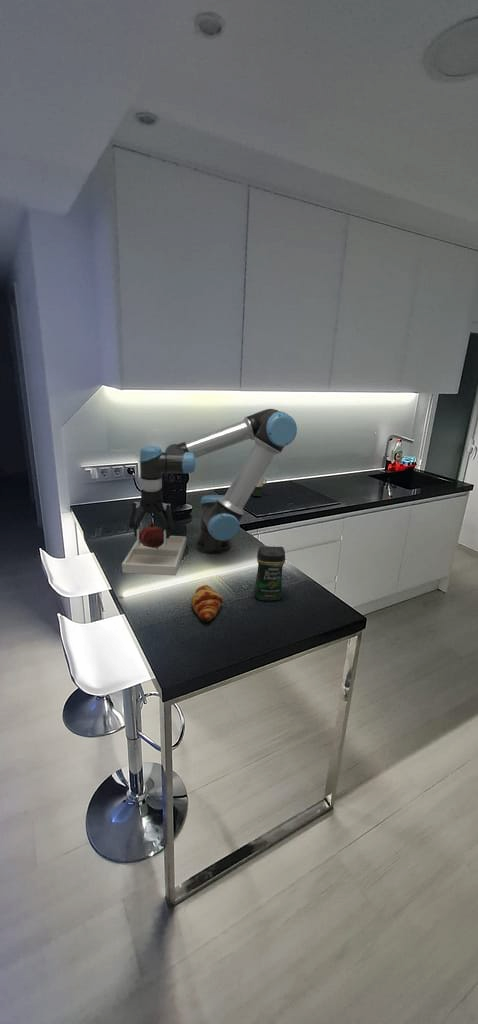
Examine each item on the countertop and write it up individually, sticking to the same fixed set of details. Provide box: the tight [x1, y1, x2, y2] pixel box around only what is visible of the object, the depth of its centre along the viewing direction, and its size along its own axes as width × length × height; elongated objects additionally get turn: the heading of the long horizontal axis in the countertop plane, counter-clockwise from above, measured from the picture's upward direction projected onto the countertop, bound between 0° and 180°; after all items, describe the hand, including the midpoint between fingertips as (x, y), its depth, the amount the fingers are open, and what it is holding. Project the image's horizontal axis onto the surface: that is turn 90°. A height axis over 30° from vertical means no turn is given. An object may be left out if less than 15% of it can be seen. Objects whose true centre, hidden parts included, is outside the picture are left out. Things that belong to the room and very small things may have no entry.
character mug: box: [251, 474, 268, 497], centre depth 255 cm, size 11×7×13 cm, turn 92°
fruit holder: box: [121, 535, 187, 576], centre depth 172 cm, size 20×29×4 cm
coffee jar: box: [253, 545, 286, 602], centre depth 145 cm, size 10×8×19 cm
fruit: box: [140, 521, 164, 549], centre depth 162 cm, size 9×10×10 cm
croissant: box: [190, 584, 224, 622], centre depth 139 cm, size 21×10×8 cm, turn 6°
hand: (152, 544), depth 163 cm, fingers closed on fruit, 9 cm apart
